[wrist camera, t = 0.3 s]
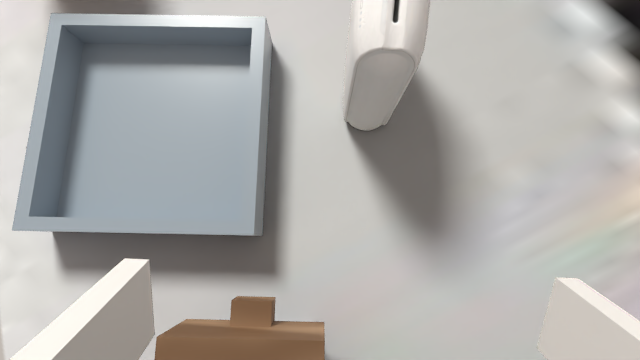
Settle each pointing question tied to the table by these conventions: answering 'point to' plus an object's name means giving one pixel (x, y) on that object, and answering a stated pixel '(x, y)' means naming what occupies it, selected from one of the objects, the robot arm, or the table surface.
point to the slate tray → (149, 126)
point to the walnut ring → (243, 336)
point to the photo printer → (381, 57)
